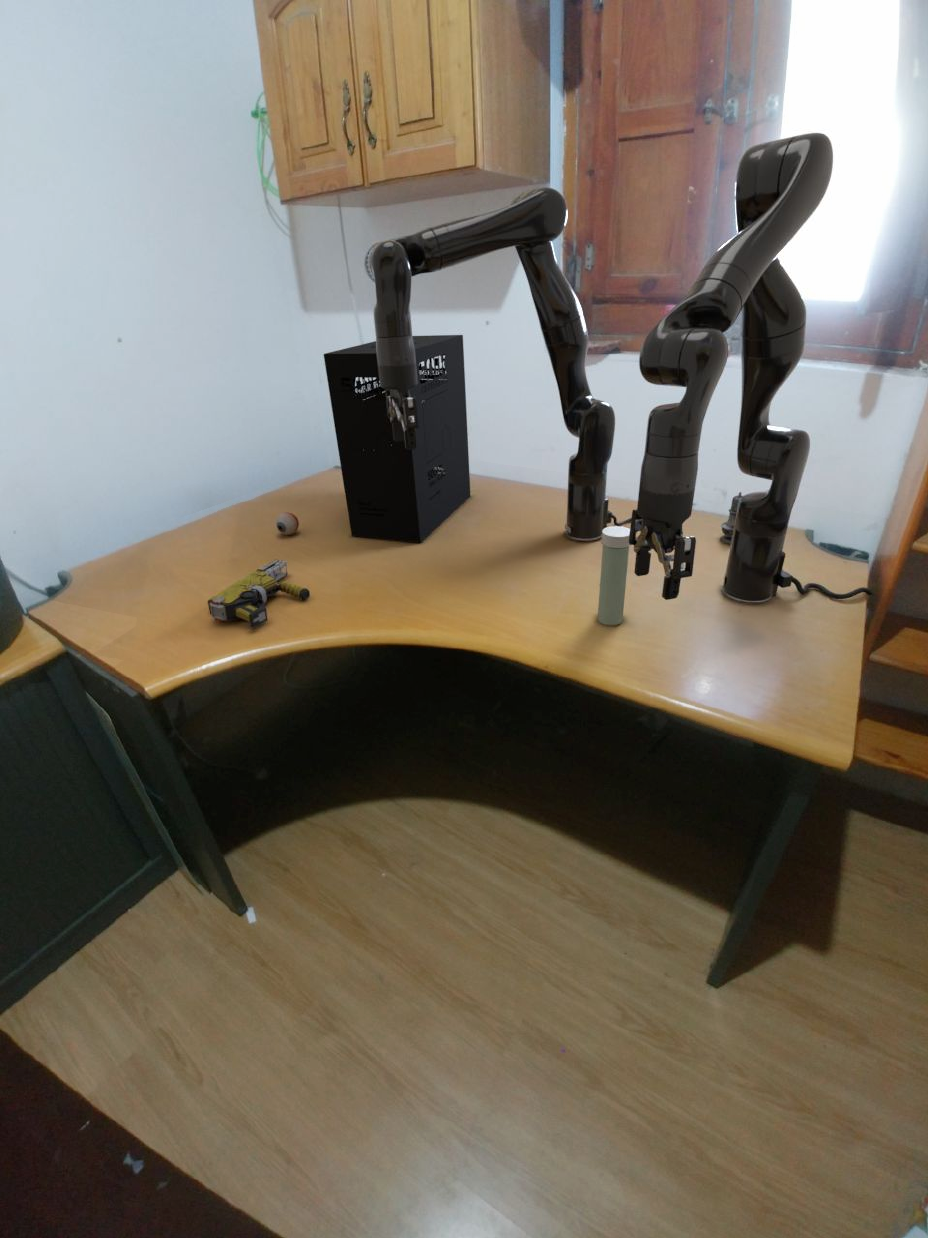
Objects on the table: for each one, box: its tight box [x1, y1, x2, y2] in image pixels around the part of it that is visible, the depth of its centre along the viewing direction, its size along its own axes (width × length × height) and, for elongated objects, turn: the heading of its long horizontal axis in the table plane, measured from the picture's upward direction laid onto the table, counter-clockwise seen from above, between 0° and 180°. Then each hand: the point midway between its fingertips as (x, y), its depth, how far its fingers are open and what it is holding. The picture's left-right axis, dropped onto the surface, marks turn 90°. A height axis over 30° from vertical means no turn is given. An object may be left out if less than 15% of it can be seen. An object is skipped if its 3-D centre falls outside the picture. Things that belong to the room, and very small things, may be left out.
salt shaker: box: [719, 491, 743, 545], centre depth 143 cm, size 6×6×12 cm
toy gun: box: [207, 558, 311, 629], centre depth 130 cm, size 5×24×15 cm
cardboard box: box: [323, 334, 471, 544], centre depth 162 cm, size 38×20×45 cm, turn 159°
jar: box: [597, 544, 630, 626], centre depth 113 cm, size 5×5×18 cm
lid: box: [601, 525, 631, 548], centre depth 109 cm, size 5×5×2 cm
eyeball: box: [275, 511, 300, 536], centre depth 163 cm, size 6×6×6 cm
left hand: (404, 444), depth 126 cm, fingers open, 8 cm apart
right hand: (654, 585), depth 93 cm, fingers open, 8 cm apart
